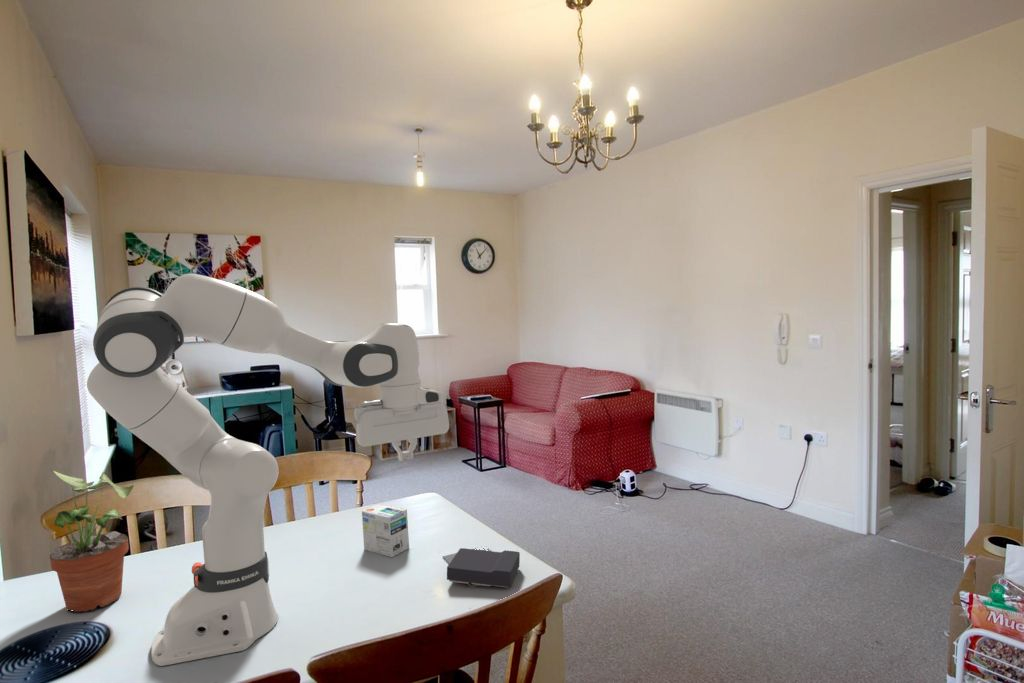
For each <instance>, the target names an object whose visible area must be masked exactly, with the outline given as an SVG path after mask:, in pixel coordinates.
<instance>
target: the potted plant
mask: <svg viewBox="0 0 1024 683" xmlns="http://www.w3.org/2000/svg"><path fill="white" fill-rule="evenodd" d="M49 470H50V471H51V472H52V473H54V474H55V475H56V477H58V478H60V480H62V481H63V482H65V483H66V484H68V485H71V488H72V489H71V490H72V495H73V500H74V502H73V503H74V508H73V509H70V510H68V511H66V510H65V511H63V510H62V511H59V512H57V516H56V518H55V520H54V523H53V525H54V526H57V527H60V528H61V529H63V528H65V526H66V525H67V528H68V530H69V533H70V535H71V539H72V541H70V542H67V543H65V544H63V545H61V546H59V547H55V548H54V549H53V550H52V551H51V552H50V554H49V560H50V566H51V570H52V571H53V572H56V573H57V577H58V581H59V585H60V589H61V592H62V593H61V594H62V596H63V600H64V603H65V608H66V610H67V609H68V610H73V611H84V612H88V611H87V610H91V611H94V610H95V609H97V608H100V607H101V608H104V607H106V606H108V605H110V604H112V603H113V602H115V601H116V600H118V599H119V598H120V597H121V595H122V591H123V590H122V589H123V577H124V576H123V574H124V560H125V555H126V554H127V553H128V551H129V549H130V547H129V537H128V536H127V534H124V533H121V532H118V531H116V530H115V531H114V530H113V531H107V532H105V533H104V532H103V533H102V531H103V529H105V528H107V523H108V522H109V520H110V519H111V518H114V519H119V520H123V518H122V517H121V515H120V513H119V512H118V511H117V510H116V509H114V508H112V509H109V510H107V511H106V510H105V511H104V512H105V513H103V514H102V517H97V515H98V514H97V512H98V510H99V503H100V502H101V501H100V499H101V497H102V494H103V491H104V489H105V486H106V485H107V484H109V485H110V486H111V487H112V488H113V489H114V490H115V491H116V492H117V494H118V495H119V497H120V498H122V499H125V498H126V497H129V495H130V494H131V491H132V490H133V489H134V485H130V486H119V485H118V484H115V483H114V482H113V481H111V479H110V478H109V477H108V476H107V474H106V473H104V472H102V473H101V475H100V476H99V478H98V479H99V481H98V482H97V483H96V484H94V483H95V482H94V481H91V482H85V479H83V478H79V477H74V476H70V475H66V474H62V473H60V472H57V471H55V470H53V469H52V468H49ZM103 483H105V484H104V486H103V488H102V491H101V493H100V497H99V500H98V503H97V507H96V510H95V511H94V514H93V516H92V514H89V509H90V506H89V505H88V492H86V494H85V495H86V496H85V497H86V498H85V506H79V507H78V505H77V501H76V497H75V493H74V492H77V493H83V492H85V491H88V490H91V491H92V490H97V489H99V488H101V487H102V485H103ZM73 487H74V488H73ZM76 522H77V525H78V526H77V527H78V532H79V534H78V535H79V537H78V538H75V537H74V534H73V532H72V529H71V528H70V526H69V525H74V524H76ZM81 522H82V524H84V523H85V524H84V525H85V526H84V525H82V524H81ZM95 522H96V524H97V525H96V527H95V529H94V526H95ZM89 523H90V524H89ZM98 526H100V528H99V530H98V532H97V534H96V535H94V533H95V531H96V529H97V528H98ZM83 531H84V533H83ZM83 534H84V536H83ZM105 605H106V606H105ZM103 606H104V607H103ZM93 609H94V610H93Z"/></svg>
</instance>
